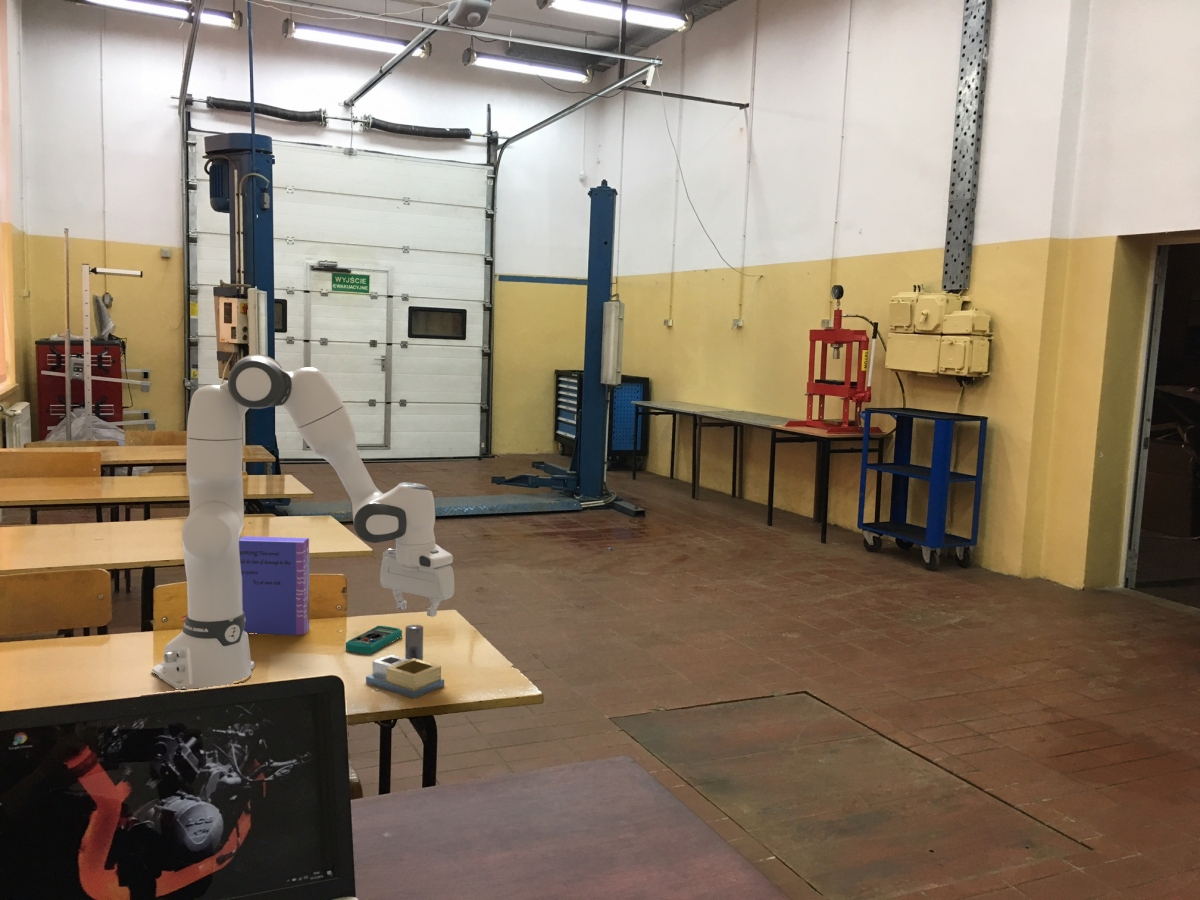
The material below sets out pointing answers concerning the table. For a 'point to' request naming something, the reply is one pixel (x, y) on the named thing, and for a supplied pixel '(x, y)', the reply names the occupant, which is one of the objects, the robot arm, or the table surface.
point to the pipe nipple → (414, 642)
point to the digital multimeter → (373, 639)
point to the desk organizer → (405, 676)
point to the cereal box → (275, 584)
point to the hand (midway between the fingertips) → (416, 612)
